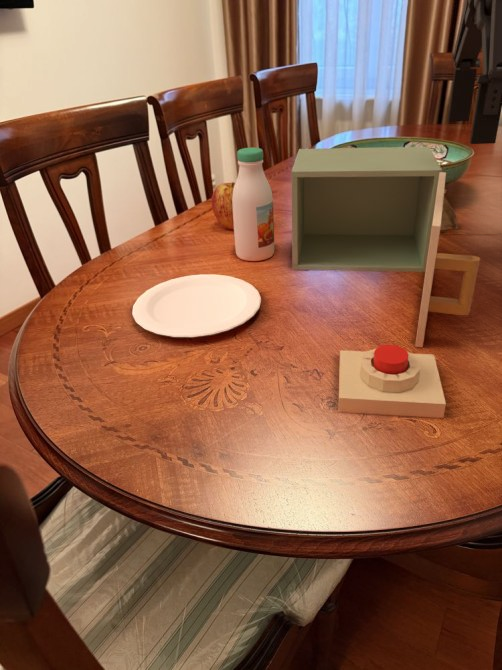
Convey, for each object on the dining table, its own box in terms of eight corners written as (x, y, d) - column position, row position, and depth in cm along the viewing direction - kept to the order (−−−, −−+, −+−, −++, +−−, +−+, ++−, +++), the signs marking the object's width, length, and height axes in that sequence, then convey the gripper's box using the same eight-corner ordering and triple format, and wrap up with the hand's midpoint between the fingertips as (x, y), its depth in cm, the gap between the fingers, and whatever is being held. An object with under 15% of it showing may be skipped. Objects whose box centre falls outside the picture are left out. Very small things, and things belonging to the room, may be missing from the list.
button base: (431, 368, 68) (436, 342, 66) (443, 418, 60) (448, 391, 58) (339, 363, 70) (340, 338, 68) (338, 412, 62) (339, 385, 60)
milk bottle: (245, 265, 99) (238, 157, 88) (229, 251, 105) (221, 148, 94) (281, 256, 101) (279, 150, 90) (264, 243, 107) (260, 142, 96)
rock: (464, 213, 109) (417, 203, 112) (471, 189, 101) (420, 178, 104) (448, 257, 106) (400, 245, 110) (454, 236, 99) (402, 223, 102)
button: (405, 357, 64) (407, 345, 64) (408, 376, 61) (410, 364, 60) (372, 355, 65) (373, 343, 64) (373, 374, 62) (374, 362, 61)
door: (463, 277, 89) (482, 173, 80) (463, 353, 70) (488, 229, 61) (425, 273, 91) (439, 172, 82) (415, 346, 72) (432, 225, 63)
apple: (226, 217, 122) (222, 174, 116) (261, 221, 118) (259, 177, 113) (207, 231, 115) (202, 186, 109) (243, 236, 111) (240, 189, 106)
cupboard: (427, 272, 92) (442, 169, 82) (292, 270, 96) (291, 171, 86) (417, 238, 105) (429, 146, 96) (299, 237, 109) (298, 148, 99)
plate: (259, 278, 93) (259, 270, 92) (264, 341, 76) (263, 331, 75) (144, 285, 94) (142, 276, 93) (122, 349, 76) (120, 339, 75)
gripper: (444, -62, 67) (424, 114, 78) (496, -90, 46) (459, 155, 57) (505, -67, 66) (476, 112, 77) (587, -98, 45) (531, 153, 56)
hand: (469, 131), depth 67 cm, fingers open, 13 cm apart
